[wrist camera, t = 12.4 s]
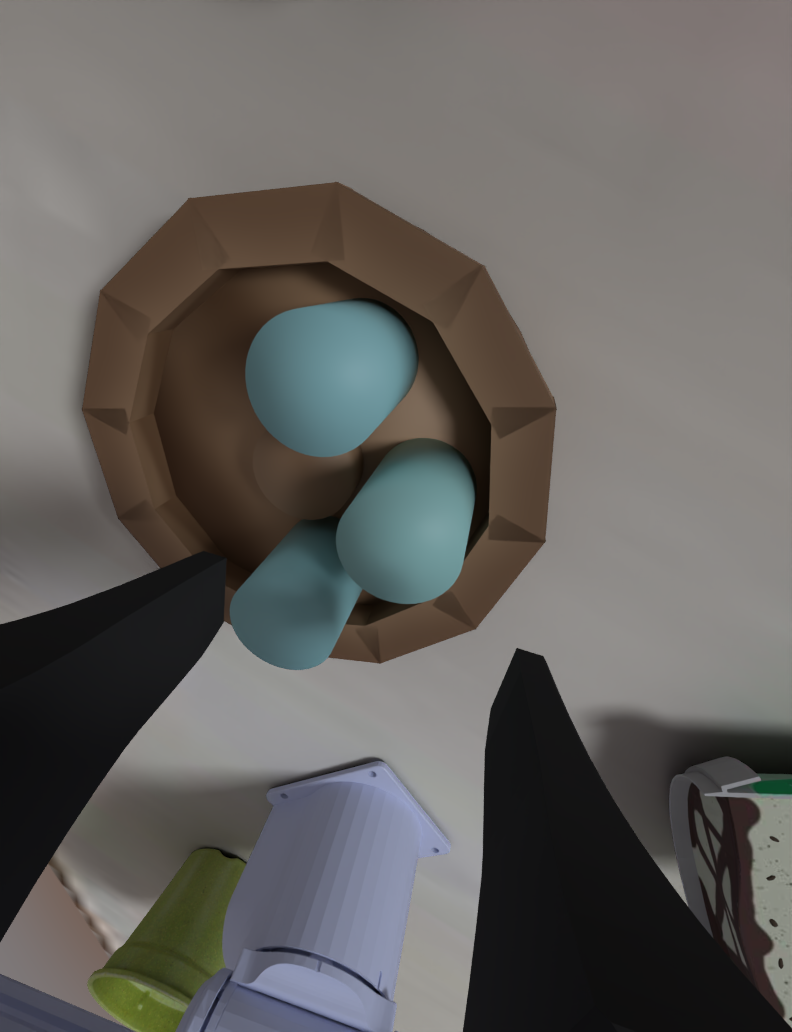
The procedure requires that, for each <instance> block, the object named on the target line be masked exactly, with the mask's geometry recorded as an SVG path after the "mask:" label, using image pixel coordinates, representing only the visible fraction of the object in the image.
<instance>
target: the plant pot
mask: <svg viewBox="0 0 792 1032" xmlns="http://www.w3.org/2000/svg"><path fill="white" fill-rule="evenodd" d="M245 866H246V863H245V862H243V861H242V860H240V859H238V858H233V859H231V858H227V857H225V856H223V855H222V854H221V852H220V851H219V850H216V849H199V850H196V851H194V852H193V853H192V854H191V855H190V856H189V857H188V859H187V860H186V862H185V863H184V864H183V866H182V867H181V868H180V870H179V871H178V872H177V874H176V875H175V877H174V878H173V879H172V881H171V882H170V883H169V885H168V886H167V888H166V889H165V890H164V892H163V893H162V894H161V896H160V897H159V898H158V900H157V901H156V902H155V904H154V905H153V906H152V908H151V909H150V911H149V912H148V913H147V915H146V916H145V917H144V919H143V920H142V921H141V923H140V924H139V925H138V927H137V928H136V929H135V930H134V932H133V933H132V935H131V936H130V937H129V939H128V940H127V941H126V943H125V944H124V945H123V946H122V947H120V948H119V949H117V950H116V951H115V953H114V954H113V955H112V956H111V958H110V959H109V960H108V962H107V963H106V965H105V966H104V967H103V968H102V969H99V970H97V971H95V972H94V973H93V974H92V975H91V976H90V978H89V980H88V984H87V986H88V989H89V992H90V993H91V995H92V996H93V998H94V999H95V1000H96V1001H97V1003H98V1004H99V1005H100V1006H101V1007H102V1008H103V1009H104V1010H106V1011H107V1012H108V1013H109V1014H110V1015H111V1016H113V1017H114V1018H115V1019H117V1020H118V1021H119V1022H120V1023H122V1024H123V1025H125V1026H127V1027H128V1028H130V1029H132V1030H133V1031H136V1032H175V1031H176V1029H177V1027H178V1025H179V1023H180V1021H181V1019H182V1017H183V1015H184V1013H185V1011H186V1009H187V1007H188V1006H189V1004H190V1002H191V1000H192V999H193V997H194V995H195V994H196V992H197V991H198V989H199V988H200V987H201V985H202V984H203V983H204V982H205V981H207V980H208V979H209V978H211V977H212V976H214V975H215V974H216V973H217V972H218V971H219V970H220V969H222V968H226V966H225V962H224V958H223V949H222V939H223V927H224V921H225V915H226V912H227V908H228V905H229V902H230V899H231V897H232V895H233V892H234V890H235V888H236V886H237V884H238V882H239V879H240V877H241V875H242V873H243V871H244V869H245Z"/></svg>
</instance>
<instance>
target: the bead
mask: <svg viewBox="0 0 792 1032" xmlns="http://www.w3.org/2000/svg"><path fill="white" fill-rule="evenodd" d="M418 362H419V356H418V348H417V343H416V340H415V337H414V334H413V332H412V330H411V328H410V326H409V325H408V323H407V322H406V321H405V319H404V318H403V317H402V316H401V315H400V314H399V313H398V312H397V311H396V310H395V309H393V308H392V307H390V306H389V305H387V304H385V303H383V302H381V301H377V300H374V299H369V298H355V299H348V300H343V301H337V302H331V303H325V304H320V305H314V306H308V307H303V308H297V309H292V310H289V311H285V312H283V313H281V314H279V315H277V316H275V317H274V318H272V319H271V320H269V321H268V322H267V323H266V324H265V325H264V326H263V327H262V328H261V329H260V331H259V332H258V333H257V334H256V336H255V338H254V340H253V341H252V344H251V346H250V349H249V352H248V356H247V360H246V368H245V379H246V387H247V392H248V396H249V399H250V402H251V405H252V407H253V409H254V411H255V413H256V415H257V417H258V418H259V420H260V421H261V423H262V424H263V426H264V427H265V428H266V429H267V431H268V432H269V433H270V434H271V435H272V436H273V437H275V438H276V439H277V440H278V441H279V442H281V443H282V444H284V445H285V446H287V447H288V448H290V449H292V450H294V451H296V452H299V453H302V454H305V455H309V456H315V457H332V456H337V455H341V454H344V453H347V452H349V451H351V450H353V449H355V448H356V447H358V446H359V445H360V444H362V443H363V442H364V441H365V440H366V439H367V438H368V437H369V436H370V435H371V434H372V433H373V431H374V430H375V429H376V428H377V427H378V426H379V425H380V424H381V423H382V422H383V420H384V419H385V418H386V417H387V416H388V415H389V414H390V413H391V412H392V411H393V409H394V408H395V407H396V406H397V405H398V404H399V403H400V402H401V401H402V400H403V398H404V397H405V396H406V395H407V394H408V392H409V391H410V389H411V387H412V386H413V383H414V381H415V378H416V375H417V371H418Z"/></svg>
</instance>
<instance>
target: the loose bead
mask: <svg viewBox="0 0 792 1032" xmlns="http://www.w3.org/2000/svg"><path fill="white" fill-rule="evenodd" d="M476 494H477V482H476V477H475V474H474V471H473V469H472V466H471V465H470V463H469V461H468V460H467V459H466V458H465V456H464V455H463V454H462V453H461V452H460V451H459V450H457V449H456V448H454V447H453V446H451V445H449V444H448V443H445V442H443V441H440V440H437V439H432V438H415V439H410V440H407V441H404V442H402V443H400V444H398V445H397V446H395V447H394V448H392V449H391V450H390V451H389V452H388V453H387V454H386V455H385V457H384V458H383V460H382V461H381V462H380V464H379V465H378V467H377V468H376V469H375V471H374V472H373V474H372V475H371V476H370V478H369V479H368V480H367V482H366V483H365V485H364V486H363V487H362V489H361V490H360V492H359V493H358V494H357V496H356V497H355V499H354V500H353V501H352V503H351V504H350V505H349V507H348V508H347V510H346V511H345V513H344V514H343V515H342V517H341V519H340V522H339V524H338V528H337V533H336V547H337V552H338V556H339V559H340V561H341V563H342V565H343V567H344V569H345V571H346V572H347V573H348V575H349V576H350V577H351V579H352V580H353V581H354V582H355V583H356V584H357V585H359V586H360V587H361V588H362V589H364V590H365V591H367V592H368V593H370V594H372V595H374V596H375V597H378V598H380V599H383V600H386V601H389V602H394V603H399V604H416V603H422V602H426V601H429V600H432V599H434V598H436V597H438V596H440V595H442V594H443V593H444V592H446V591H447V590H448V589H449V588H450V587H451V586H452V585H453V584H454V582H455V581H456V580H457V578H458V576H459V574H460V572H461V569H462V566H463V561H464V556H465V551H466V546H467V541H468V536H469V530H470V525H471V520H472V515H473V510H474V505H475V500H476Z"/></svg>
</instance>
